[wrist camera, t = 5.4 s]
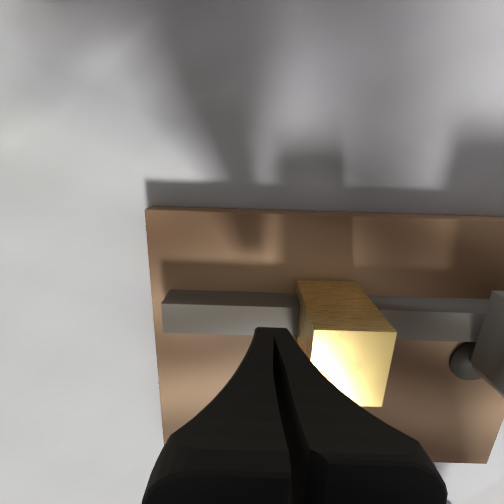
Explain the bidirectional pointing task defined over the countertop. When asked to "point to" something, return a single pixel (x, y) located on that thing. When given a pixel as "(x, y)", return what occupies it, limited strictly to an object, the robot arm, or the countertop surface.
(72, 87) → the countertop surface
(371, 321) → the leg
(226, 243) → the board
